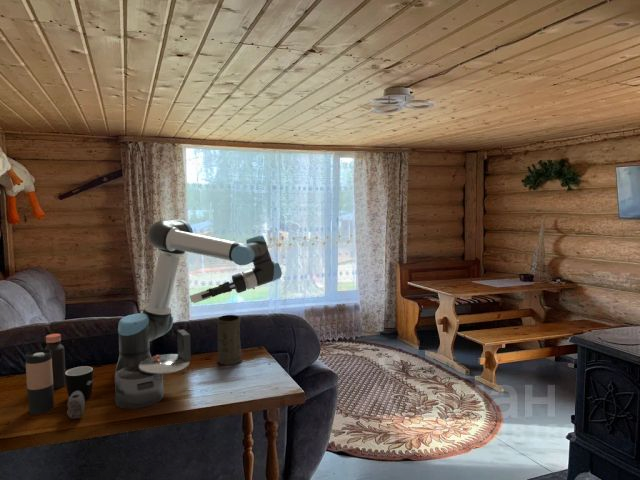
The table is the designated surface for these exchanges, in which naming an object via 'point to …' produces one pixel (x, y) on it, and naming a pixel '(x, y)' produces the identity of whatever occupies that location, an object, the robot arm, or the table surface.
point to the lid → (169, 358)
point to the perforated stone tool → (76, 405)
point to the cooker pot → (137, 388)
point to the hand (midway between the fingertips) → (191, 299)
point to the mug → (79, 380)
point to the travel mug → (39, 381)
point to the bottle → (57, 359)
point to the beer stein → (229, 339)
